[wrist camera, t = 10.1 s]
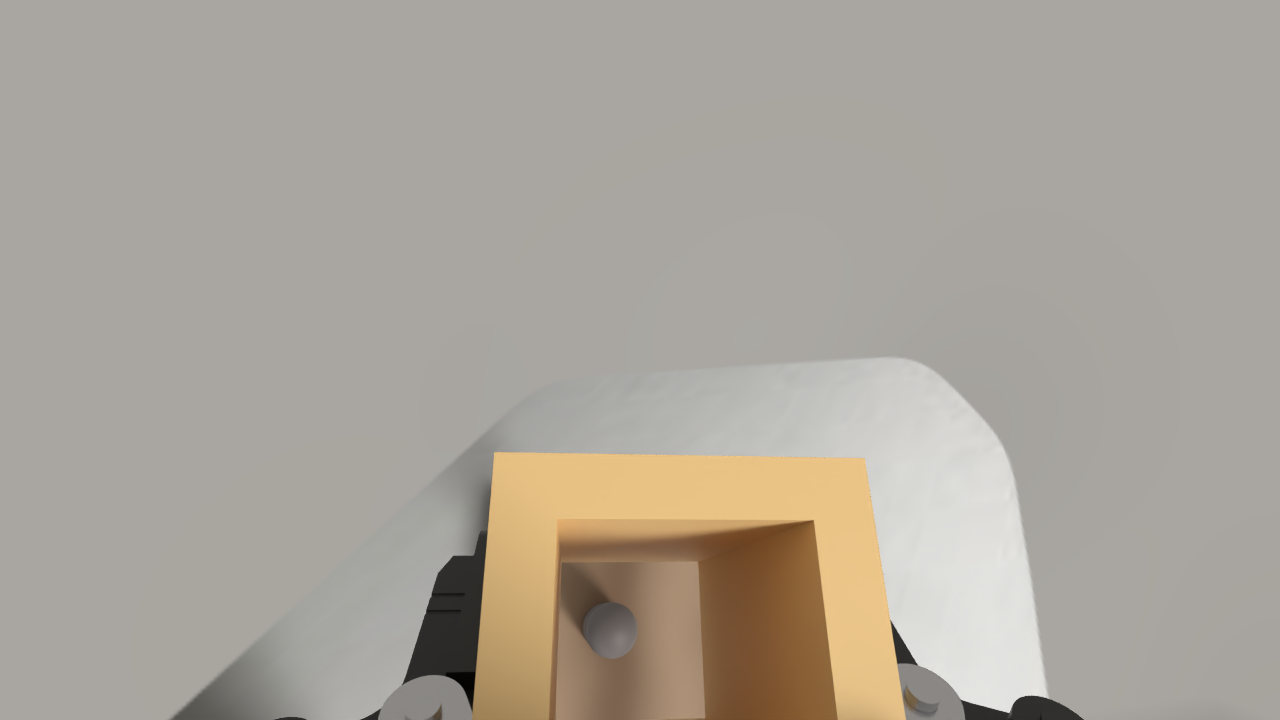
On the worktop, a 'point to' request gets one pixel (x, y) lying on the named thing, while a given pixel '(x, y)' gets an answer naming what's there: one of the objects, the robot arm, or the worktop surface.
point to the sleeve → (728, 577)
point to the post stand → (629, 642)
